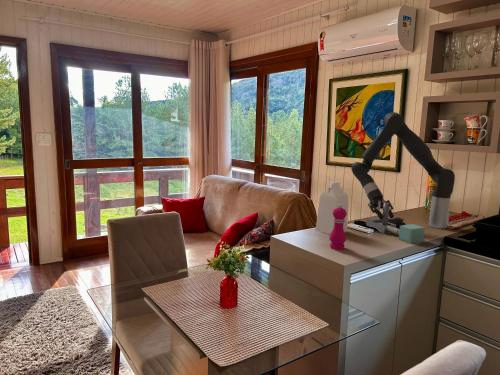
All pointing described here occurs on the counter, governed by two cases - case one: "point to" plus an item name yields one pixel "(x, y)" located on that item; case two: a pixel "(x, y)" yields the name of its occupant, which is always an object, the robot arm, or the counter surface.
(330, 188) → the milk
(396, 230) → the grey piece
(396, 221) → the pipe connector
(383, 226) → the grey grooved block
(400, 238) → the teal block
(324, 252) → the counter surface
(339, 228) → the pepper mill
